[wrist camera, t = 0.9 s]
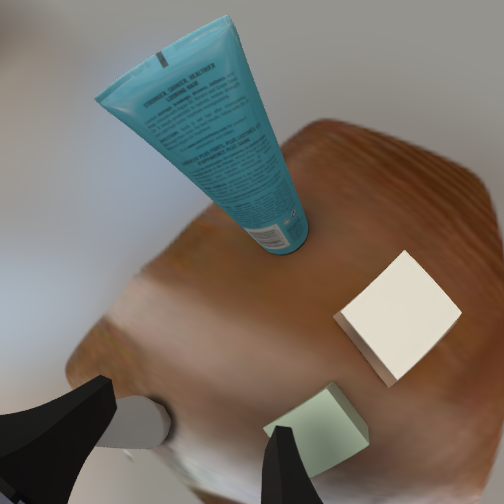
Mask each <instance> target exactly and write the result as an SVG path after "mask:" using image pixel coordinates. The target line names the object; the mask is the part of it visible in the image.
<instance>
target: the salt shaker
mask: <svg viewBox="0 0 504 504" xmlns="http://www.w3.org/2000/svg"><path fill="white" fill-rule="evenodd" d="M116 404H117V410H116V412H115V415H114V417H113V419H112V421H111V423H110V425H109V426H108V428H107V429H106V431H105V432H104V434H103V435H102V437H101V438H100V439H99V441H98V442H97V444H96V445H95V446H97V447H110V448H126V449H151V448H153V447H156V446H158V445H160V444H161V443H162V442H163V441H164V439H165V438H166V437H167V436H168V433H169V430H170V426H171V422H172V421H171V419H170V417H169V415H168V413H167V411H166V409H165V407H164V406H163V405H160V404H158V403H155V402H153V401H152V400H150V399H149V398H147V397H145V396H135V395H132V396H129V397H125V398H121V399H117V400H116Z"/></svg>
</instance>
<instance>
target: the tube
mask: <svg viewBox="0 0 504 504" xmlns="http://www.w3.org/2000/svg"><path fill="white" fill-rule="evenodd" d="M94 99H95V100H96V101H97V102H98V103H99V104H100V105H101V106H102V107H103V108H104V109H106V110H107V111H108V112H110V113H111V114H112V115H114V116H115V117H116V118H118V119H119V120H120V121H122V122H123V123H124V124H125V125H127V126H128V127H129V128H131V129H132V130H133V131H134V132H136V133H137V134H138V135H139V136H140V137H141V138H143V139H144V140H145V141H146V142H147V143H149V144H150V145H151V146H152V147H153V148H155V149H156V150H157V151H158V152H160V153H161V154H162V155H163V156H164V157H165V158H166V159H167V160H169V161H170V162H171V163H172V164H173V165H174V166H176V167H177V168H178V169H179V170H180V171H181V172H182V173H183V174H185V175H186V176H187V177H188V178H189V179H190V180H191V181H192V182H193V183H194V184H195V185H197V186H198V187H199V188H200V189H201V190H202V191H203V192H204V193H205V194H206V195H207V196H209V197H210V198H211V199H212V200H213V201H214V202H215V203H216V204H217V205H218V206H219V207H220V208H222V209H223V210H224V211H225V212H226V213H227V214H228V215H229V216H230V217H231V218H232V219H233V220H234V221H235V222H237V223H238V224H239V225H240V226H241V227H242V228H243V229H244V230H245V231H246V232H247V233H248V234H249V235H250V236H251V237H252V238H253V239H254V240H255V241H257V242H258V243H259V244H260V245H261V246H262V247H263V248H264V249H265V250H267V251H268V252H270V253H273V254H279V255H280V254H288V253H290V252H293V251H295V250H296V249H297V248H299V247H300V246H301V245H302V244H303V242H304V241H305V239H306V237H307V234H308V222H307V219H306V216H305V213H304V211H303V208H302V205H301V203H300V200H299V197H298V195H297V192H296V189H295V187H294V184H293V182H292V179H291V176H290V174H289V171H288V169H287V166H286V163H285V161H284V158H283V156H282V153H281V150H280V148H279V145H278V142H277V140H276V137H275V134H274V132H273V129H272V127H271V124H270V122H269V119H268V116H267V114H266V111H265V109H264V106H263V103H262V100H261V98H260V95H259V92H258V90H257V87H256V85H255V82H254V79H253V77H252V74H251V71H250V68H249V65H248V63H247V60H246V57H245V54H244V51H243V49H242V45H241V42H240V39H239V35H238V33H237V30H236V28H235V26H234V24H233V22H232V20H231V18H230V17H229V16H228V15H225V16H223V17H221V18H219V19H217V20H215V21H213V22H211V23H209V24H207V25H205V26H203V27H201V28H199V29H197V30H195V31H194V32H192V33H190V34H188V35H186V36H184V37H183V38H181V39H179V40H178V41H176V42H174V43H173V44H171V45H169V46H167V47H166V48H164V49H162V50H161V51H160V52H158V53H156V54H154V55H153V56H151V57H149V58H148V59H146V60H145V61H143V62H142V63H140V64H139V65H137V66H136V67H134V68H132V69H131V70H129V71H128V72H127V73H125V74H124V75H123V76H121V77H120V78H118V79H117V80H116V81H114V82H113V83H112V84H111V85H109V86H108V87H107V88H106V89H105V90H103V91H102V92H101V93H100V94H98V95H97V96H96V97H95V98H94Z"/></svg>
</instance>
